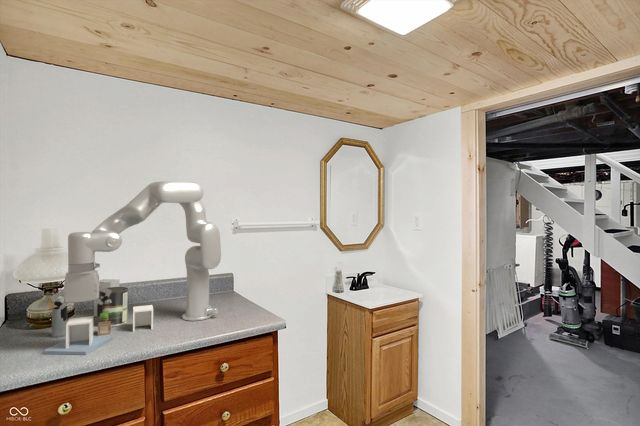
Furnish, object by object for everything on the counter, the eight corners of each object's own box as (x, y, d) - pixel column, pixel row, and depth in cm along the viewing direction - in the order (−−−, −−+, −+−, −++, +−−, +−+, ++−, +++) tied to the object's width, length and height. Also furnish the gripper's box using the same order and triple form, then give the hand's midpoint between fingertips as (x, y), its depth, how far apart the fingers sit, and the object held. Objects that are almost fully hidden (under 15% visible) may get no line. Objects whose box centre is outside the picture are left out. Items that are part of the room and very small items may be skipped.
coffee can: (111, 328, 136) (111, 292, 136) (92, 325, 140) (93, 290, 140) (133, 321, 146) (133, 287, 146) (115, 318, 149) (116, 285, 150)
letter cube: (98, 332, 132) (98, 322, 132) (110, 331, 133) (110, 320, 134) (97, 336, 128) (97, 325, 128) (110, 334, 130) (110, 323, 130)
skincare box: (120, 313, 157) (121, 279, 157) (110, 317, 150) (110, 282, 150) (103, 312, 158) (103, 278, 158) (92, 316, 151) (93, 281, 151)
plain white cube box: (132, 326, 139) (133, 306, 139) (152, 324, 142) (152, 304, 142) (132, 331, 133) (133, 311, 133) (152, 329, 136) (153, 308, 136)
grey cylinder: (54, 338, 125) (55, 309, 125) (49, 335, 127) (49, 307, 127) (69, 334, 129) (69, 307, 129) (63, 332, 131) (64, 305, 131)
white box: (68, 341, 119) (69, 318, 119) (93, 338, 123) (93, 315, 123) (65, 348, 113) (66, 324, 113) (91, 345, 116) (91, 321, 116)
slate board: (112, 339, 125) (112, 336, 125) (85, 354, 111) (85, 351, 111) (74, 338, 125) (74, 335, 125) (42, 353, 111) (42, 350, 111)
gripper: (111, 264, 126) (112, 311, 126) (52, 268, 117) (53, 318, 117) (110, 267, 119) (111, 316, 119) (47, 272, 111) (48, 325, 111)
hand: (82, 317), depth 118 cm, fingers open, 9 cm apart
